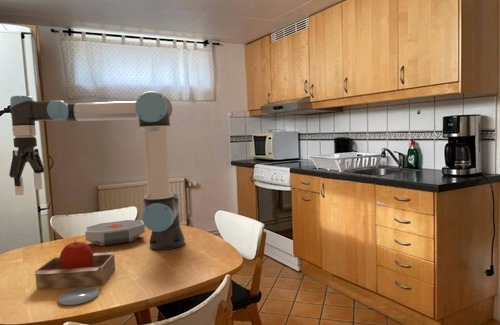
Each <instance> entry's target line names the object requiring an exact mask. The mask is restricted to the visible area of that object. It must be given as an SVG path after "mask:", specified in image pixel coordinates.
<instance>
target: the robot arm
mask: <svg viewBox="0 0 500 325" xmlns="http://www.w3.org/2000/svg"><path fill="white" fill-rule="evenodd" d="M9 102H10V107H9V109H10V115H11V123H12V124H11V125H12V129H11V130H12V135H13V137H14V138H13V148H17V150H15V149H14V150H12V158H11V164H10V169H9V174H8V176H9V177H10V178H11V179H12V178H13V181H14V182H13V184H14V194H15V196H24V195H25V189H24V177H23V176H22V174H23V172H24V169H25V166H26V164H27V163H28V164H29V165H30V167H31V168H32V171H33V173H32V174H33V184H34V190H43V180H42V178H43V177H42V174H43V173H45V167H44V165H43V162H42V160H41V159H42V158H41V156H40V153H39V149H38V148H36V147H37V146H38V143H37V138H36V137H35V136H37V129H36V128H37V127H36V122H40V121H42V122H43V121H47V122H48V121H49V122H51V121H52V122H63V123H71V122H92V121H95V122H96V121H118V120H119V121H120V120H121V121H122V120H125V121H126V120H138V126H139V128H140V130H141V131H142V132H143V142H144V143H143V144H144V155H145V156H144V158H145V159H144V160H145V173H146V174H145V175H146V187H147V188H146V189H147V190H146V191H147V192H146V194H144V196H143V207H144V209H143V212H142V215H141V216H142V217H141V218H142V219H141V220H142V221H143V223H144V227H146V228H147V229H148V230H149V231H151V235H150V238H149V243H148V244H149V248H151V249H152V250H158V251H163V250H164V251H167V250H173V249H177V248H180V247H182V246H184V245H185V244H186V240H185V238H186V237H185V234H184V233H183V230H182V228H181V224H180V223H181V221H180V219H181V218H180V205H179V204H180V198H179V194H178V193H177V192H171V190H170V175H169V174H170V173H169V156H168V139H167V131H168V130H169V128H170V127H171V123H170V122H171V120H170V117H171V116H172V112H173V105H172V103H171V101H170V100H169V99H168V98H167V97H166V96H164V95H163V94H162V93H161V92H158V91H150V90H149V91H146V92H144V93H141V94H140V95H139V97H138V98H137V100H134V101H133V100H132V101H131V100H130V101H107V102H105V101H101V102H98V101H97V102H73V103H72V102H70V103H69V102H67V103H66V102H65V101H64V100H55V99H54V100H34V98H33V97H32V96H30V95H13V96H11V97H10V101H9Z"/></svg>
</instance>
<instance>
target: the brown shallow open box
mask: <svg viewBox="0 0 500 325" xmlns="http://www.w3.org/2000/svg"><path fill="white" fill-rule="evenodd" d="M59 258H60V255H58V256H55V257H53V258H51V259H50V260H49V261H47V262H46V263H44V264H43V265H42V266H40V267H39V268H37V269H36V270H35V272H34V274H33V275H34V276H35V284H36V286H35V287H36V290H50V289H60V288H61V289H64V288H80V287H95V286H104V285H105V284H106V283H107V281H109V279H110V278H111V276H113V274H114V273H115V271H116V262H115V261H116V260H115V253H114V251H113V252H112V251H111V252H109V251H108V252H95V253H94V252H93V263H92V267H88V268H72V269H62V268H61V264H60V259H59Z"/></svg>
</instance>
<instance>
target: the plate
mask: <svg viewBox="0 0 500 325" xmlns="http://www.w3.org/2000/svg"><path fill="white" fill-rule="evenodd" d="M97 296H99V289H98V288H97V287H95V286H81V287H75V288H73V289H70V290H67V291H65V292H63V293H61V294H60V295H59V296H58V299H57V300H58V303H59V304H60V305H63V306H74V305H81V304H84V303H87V302H89V301H92V300H93V299H95V298H96V297H97Z"/></svg>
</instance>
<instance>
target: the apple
mask: <svg viewBox="0 0 500 325" xmlns="http://www.w3.org/2000/svg"><path fill="white" fill-rule="evenodd" d="M93 253H94V252H93V250H92V248H91V246H89V245H88V244H87V243H86V242H81V241H79V242H78V241H77V242H76V241H74V242H71V243H68V244H66V245H65V246H64V247H63V249H62V250H61V252H60V255H59V256H60V258H59V259H60V264H61V268H62V269H72V268H88V267H92V263H93Z"/></svg>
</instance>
